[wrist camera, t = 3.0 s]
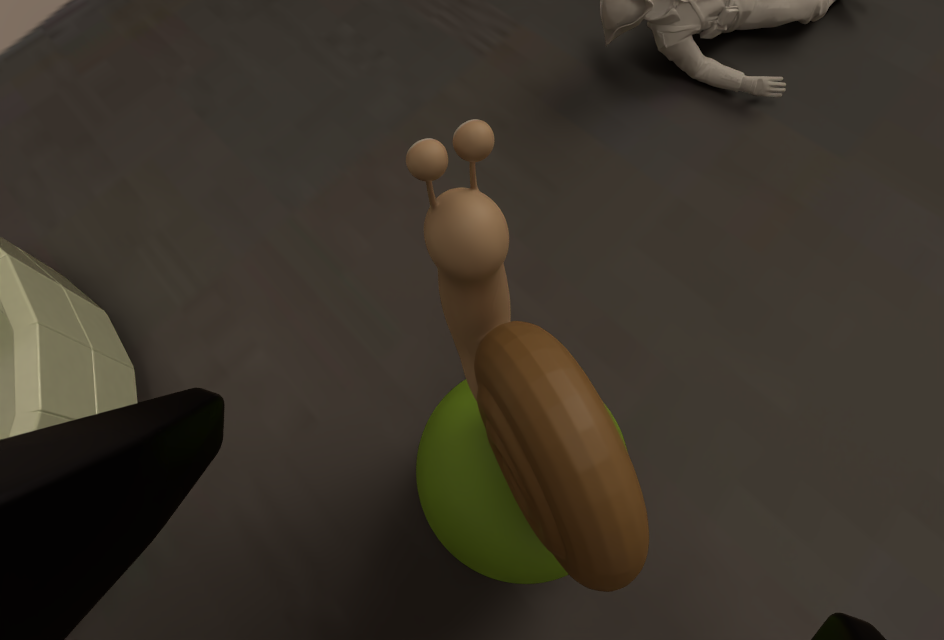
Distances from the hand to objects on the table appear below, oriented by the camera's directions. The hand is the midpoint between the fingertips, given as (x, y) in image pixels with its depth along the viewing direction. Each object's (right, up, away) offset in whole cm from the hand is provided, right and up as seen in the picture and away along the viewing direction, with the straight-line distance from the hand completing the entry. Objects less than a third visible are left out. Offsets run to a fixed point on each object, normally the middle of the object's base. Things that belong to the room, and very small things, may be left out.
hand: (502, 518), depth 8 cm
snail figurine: (+1, -2, +9) cm, 10 cm away
